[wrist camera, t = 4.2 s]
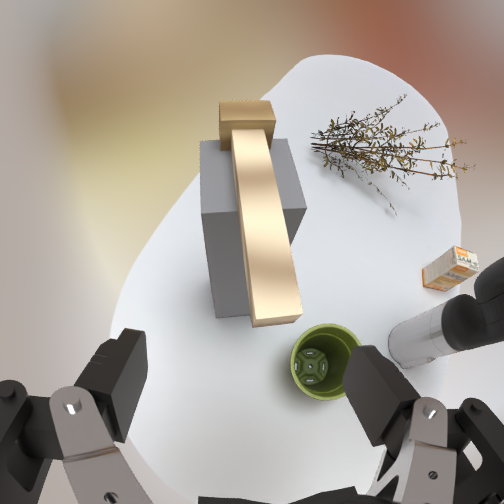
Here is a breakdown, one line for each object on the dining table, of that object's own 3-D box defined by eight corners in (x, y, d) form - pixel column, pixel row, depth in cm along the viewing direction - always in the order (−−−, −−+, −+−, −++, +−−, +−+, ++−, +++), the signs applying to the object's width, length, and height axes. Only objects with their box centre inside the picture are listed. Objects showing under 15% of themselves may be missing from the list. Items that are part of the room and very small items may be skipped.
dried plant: (278, 115, 51) (504, 149, 29) (322, 77, 67) (476, 97, 45) (300, 223, 73) (466, 262, 51) (333, 162, 89) (462, 187, 67)
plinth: (259, 314, 52) (307, 208, 21) (216, 318, 50) (201, 213, 20) (253, 274, 55) (286, 138, 25) (212, 277, 54) (199, 141, 24)
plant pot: (321, 325, 51) (344, 310, 41) (347, 378, 47) (376, 375, 37) (266, 351, 49) (277, 343, 38) (293, 407, 44) (311, 414, 34)
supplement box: (422, 287, 57) (456, 264, 45) (421, 269, 59) (453, 244, 47) (445, 292, 57) (480, 272, 45) (444, 275, 59) (476, 252, 47)
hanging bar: (306, 320, 17) (323, 307, 14) (237, 329, 17) (240, 316, 14) (265, 128, 25) (269, 100, 22) (219, 129, 24) (219, 100, 21)
